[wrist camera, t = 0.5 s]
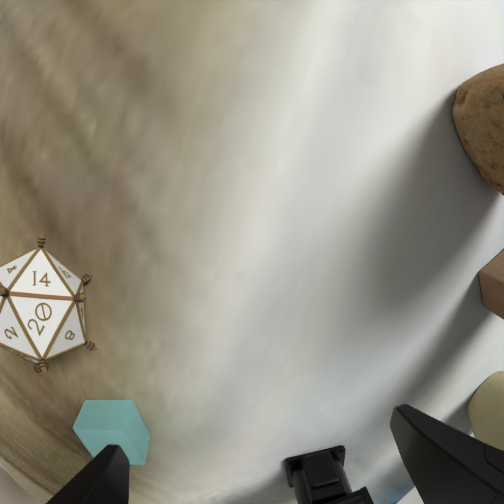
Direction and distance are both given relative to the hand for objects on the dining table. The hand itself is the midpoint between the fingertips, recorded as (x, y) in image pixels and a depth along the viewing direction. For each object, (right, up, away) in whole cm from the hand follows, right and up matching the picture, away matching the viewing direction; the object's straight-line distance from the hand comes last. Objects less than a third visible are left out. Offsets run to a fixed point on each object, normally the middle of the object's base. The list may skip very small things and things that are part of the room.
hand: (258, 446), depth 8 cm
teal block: (-13, -10, +16) cm, 22 cm away
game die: (-15, +3, +12) cm, 19 cm away
